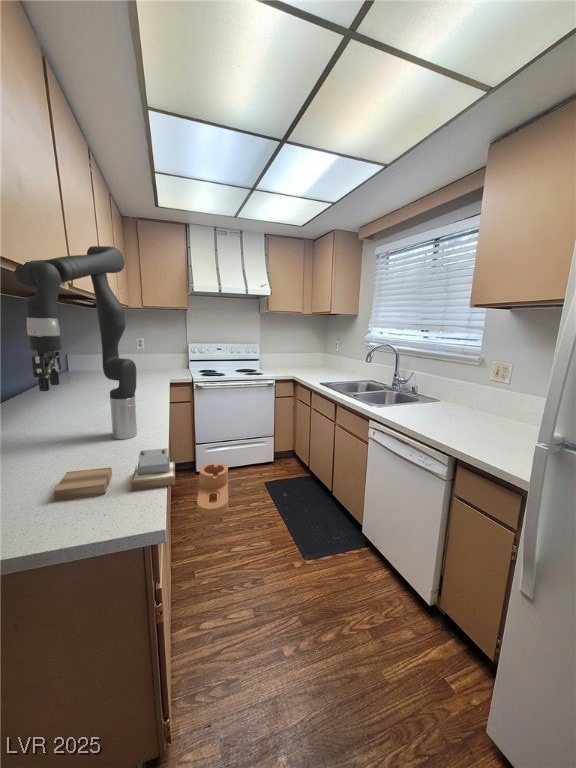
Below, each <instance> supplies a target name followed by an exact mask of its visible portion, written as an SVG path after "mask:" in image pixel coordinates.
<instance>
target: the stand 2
mask: <svg viewBox="0 0 576 768" xmlns="http://www.w3.org/2000/svg"><path fill="white" fill-rule="evenodd" d="M171 486H176V461H170V472H167V473H158V474H149V475H141V476H138V464H137V465H135V467H134V471H133V475H132V480H131V491H132V492H134V491H140V490H141V491H142V490H150V489H156V488H157V489H158V488H164V487H171Z"/></svg>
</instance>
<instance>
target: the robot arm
mask: <svg viewBox="0 0 576 768" xmlns="http://www.w3.org/2000/svg"><path fill="white" fill-rule="evenodd" d="M124 257H125V256H124V255H123V252H121V250H119V249H118V248H117V247H115V246H105V245H104V246H103V245H102V246H101V245H99V246H98V245H95V246H93V245H92V246H89V247H88V249H87V251H86V254H80V255H79V254H77V255H76V254H74V255H66V256H65V255H64V256H60V257H55V258H51V259H38V260H37V259H36V260H29V261H30V262H26V263H25V264H24V265H18V264H16V266H17V267H16V266H15V267H16V270H15V271H14V270H13V276H14V278H15V280H16V281H17V282H18V283H19V284H20V285H22V286H24V287H26V288H31V289H32V288H33V289H36V293H35V295H32V296H28V297H26V299H25V311H26V331H27V339H28V340H27V341H28V347H29V350H31V351H33V352H34V351H35V352H36V355H32V356H31V362H32V372H33V373H32V375H33V378H36V379H38V387H39V388H38V389H39V391H40V392H48V391H50V385H51V386H59V385H60V374H59V373H60V371H61V370H62V364H61V357H60V351H61V350H62V340H61V339H62V338H61V329H60V324H59V319H58V308H57V303H58V299H59V294H60V290H61V285H62V283H68V282H71V281H74V280H79V279H83V278H85V277H89V276H90V279H91V282H92V286H93V292H94V298H95V303H96V304H95V305H96V312H97V318H98V319H97V320H98V325H99V332H100V341H101V351H102V352H101V353H102V355H101V356H102V369H103V370H102V371H103V374H104V376H105V378H107V380H110V381H118V387H117V388H113V389H111V390H110V391H109V399H110V400H109V403H110V415H111V418H110V419H111V430H112V431H111V433H112V438H113V439H114V440H115V439H116V440H126V439H132V438H134V437H136V436H137V435H138V428H137V425H138V424H137V410H136V407H137V406H136V390H137V366H136V364H135V362H134V360H132V359H130V358H129V359H128V358H120V355H119V343H120V341H121V338H122V337H123V334H124V332H125V330H126V316H125V309H124V307H123V305H122V303H121V301H120V300H119V299H118V297H117V296H116V295H115V293H114V292H113V290H112V289H111V286H110V284H109V281H108V275H107V274H117V273H120V272H121V271H123V269H124V268H125V258H124Z"/></svg>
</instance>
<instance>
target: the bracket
mask: <svg viewBox="0 0 576 768" xmlns="http://www.w3.org/2000/svg"><path fill="white" fill-rule="evenodd" d="M211 501H214V502H211ZM228 510H229V467H228V466H227V464H225V463H221V462H218V464H217V465H215V463H214V462H210V463H206V464H203V465H202V466H200V468H199V485H198V491H197V499H196V511H197V513H198V515H199V516H201V517H204V518H216V517H220V516H222V515H225V513H226V512H228Z"/></svg>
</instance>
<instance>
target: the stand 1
mask: <svg viewBox="0 0 576 768" xmlns="http://www.w3.org/2000/svg"><path fill="white" fill-rule="evenodd" d="M112 477H113V472H112V466H110V467H103V468H92V469H85V470H83V469H82V470H74V471H66V473H65V474H64V476H63V477H62V478H61V480H60V481H59V482H58V484H57V485H56V486H55V489H54V490H53V496H54V501H56V502H57V501H64V500H70V499H79V498H87V497H93V496H102V495H103V496H104V495H106V493H107V490H108V487H109V485H110V482H111V479H112Z"/></svg>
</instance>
